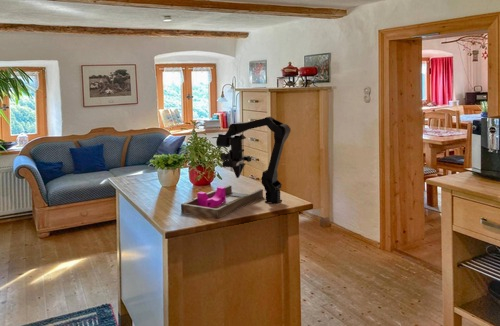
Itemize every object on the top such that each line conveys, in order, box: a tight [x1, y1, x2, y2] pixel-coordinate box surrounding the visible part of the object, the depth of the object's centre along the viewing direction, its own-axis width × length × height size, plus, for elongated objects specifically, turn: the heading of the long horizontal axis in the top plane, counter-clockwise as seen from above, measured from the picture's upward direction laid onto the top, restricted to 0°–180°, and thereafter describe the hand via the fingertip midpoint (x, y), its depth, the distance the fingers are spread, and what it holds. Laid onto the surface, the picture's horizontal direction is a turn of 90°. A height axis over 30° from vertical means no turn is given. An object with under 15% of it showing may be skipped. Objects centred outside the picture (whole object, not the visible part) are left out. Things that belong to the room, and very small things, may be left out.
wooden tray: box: [180, 184, 264, 220], centre depth 223 cm, size 21×40×4 cm, turn 149°
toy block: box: [196, 186, 227, 208], centre depth 222 cm, size 15×6×8 cm, turn 136°
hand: (237, 177), depth 232 cm, fingers closed
